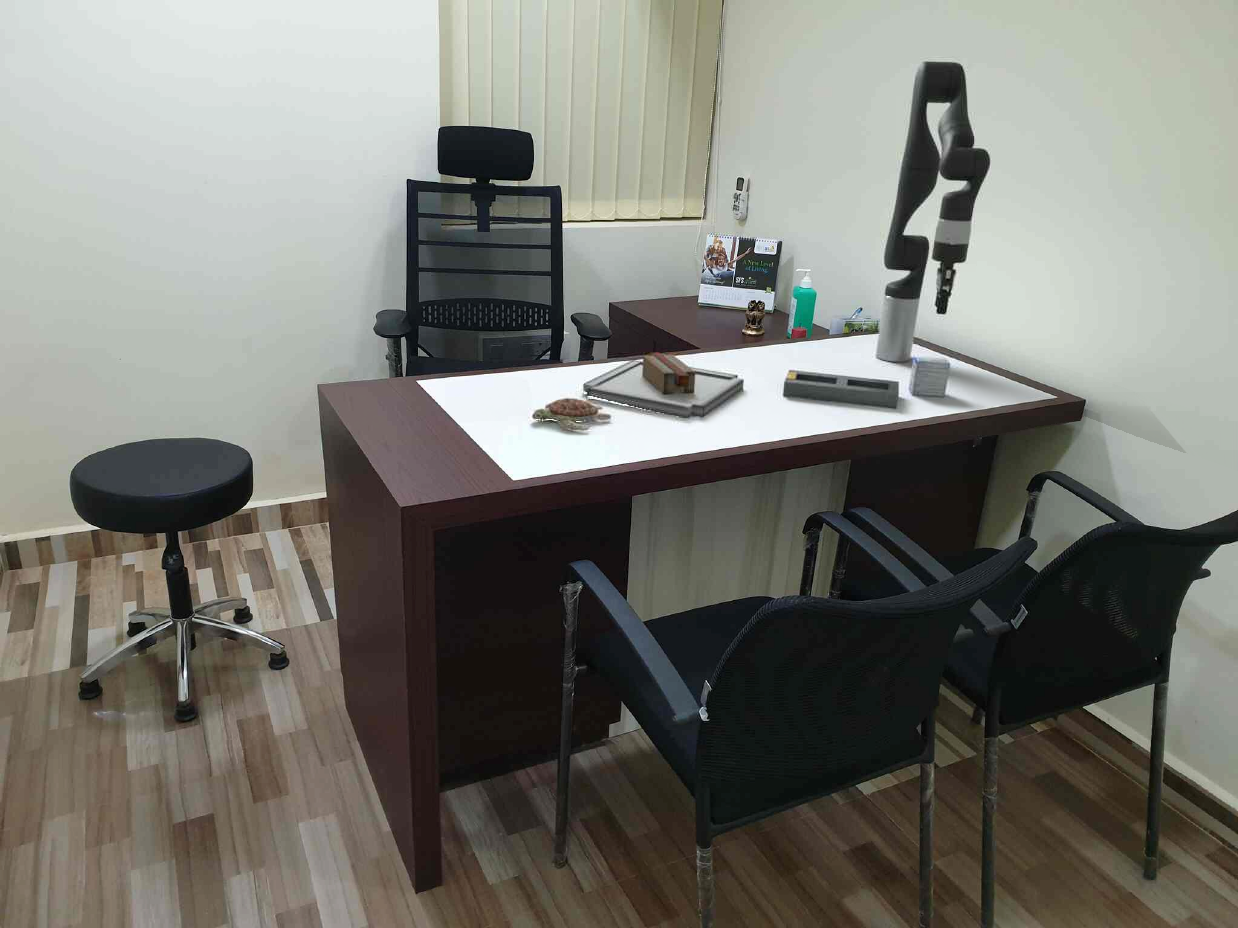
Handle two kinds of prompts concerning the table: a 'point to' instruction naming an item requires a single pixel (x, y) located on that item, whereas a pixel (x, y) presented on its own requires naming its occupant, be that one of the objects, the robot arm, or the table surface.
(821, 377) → the slotted rail
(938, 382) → the medicine box
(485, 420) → the table surface
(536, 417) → the decorative turtle
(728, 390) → the grey square tray
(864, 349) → the table surface
